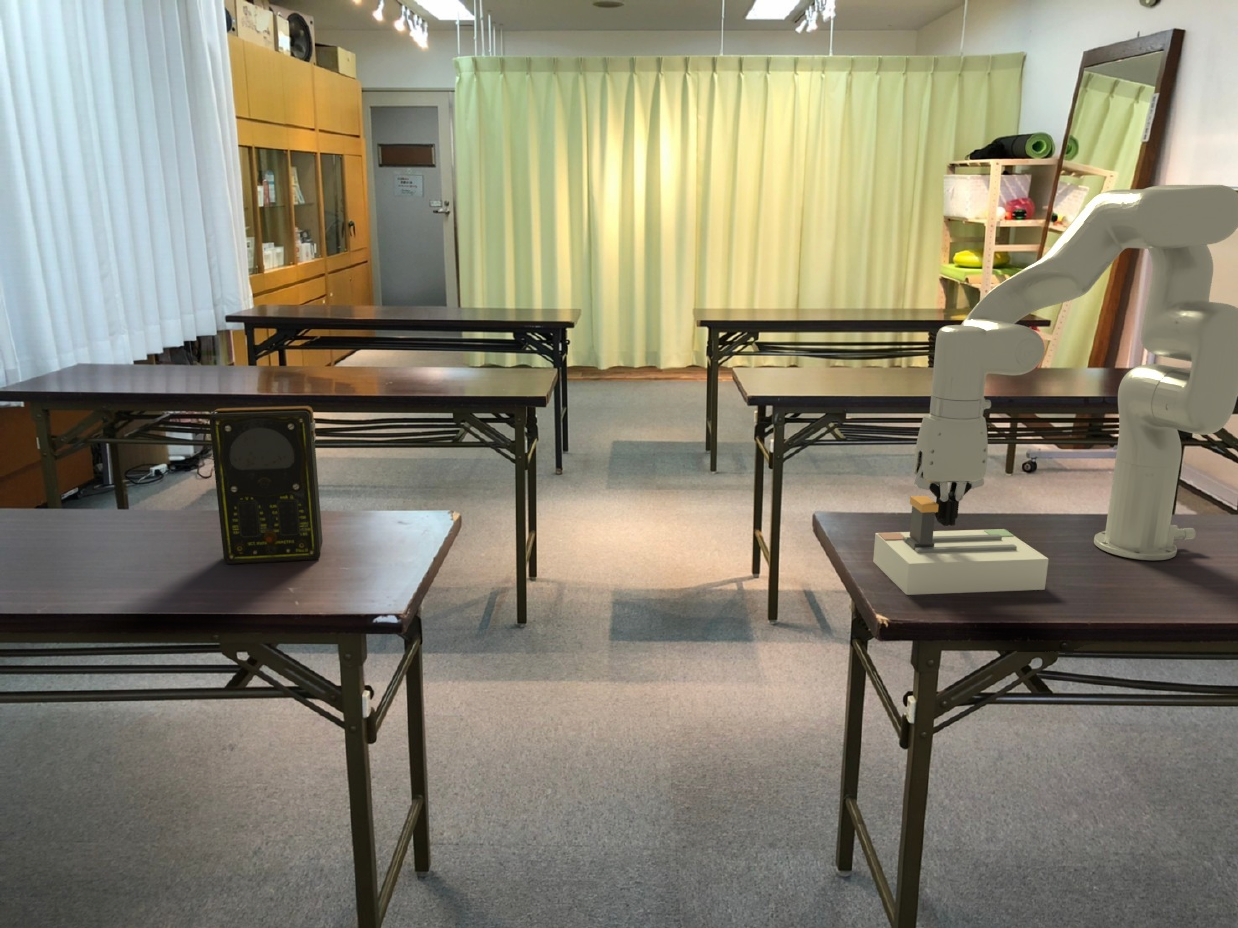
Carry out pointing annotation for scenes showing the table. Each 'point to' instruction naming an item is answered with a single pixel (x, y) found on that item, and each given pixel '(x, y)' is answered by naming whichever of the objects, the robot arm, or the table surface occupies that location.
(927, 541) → the handle
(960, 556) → the switch box
